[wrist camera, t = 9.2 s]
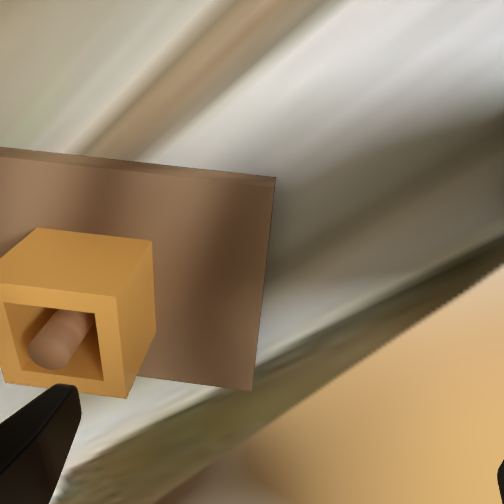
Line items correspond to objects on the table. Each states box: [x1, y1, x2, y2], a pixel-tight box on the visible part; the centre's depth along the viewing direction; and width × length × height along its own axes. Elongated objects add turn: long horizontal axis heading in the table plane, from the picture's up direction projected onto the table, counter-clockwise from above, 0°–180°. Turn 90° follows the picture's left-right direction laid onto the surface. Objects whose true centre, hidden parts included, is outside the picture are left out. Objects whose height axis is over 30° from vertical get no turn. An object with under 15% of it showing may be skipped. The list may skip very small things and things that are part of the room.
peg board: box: [0, 147, 276, 391], centre depth 20 cm, size 16×12×6 cm
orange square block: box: [0, 228, 156, 399], centre depth 19 cm, size 5×5×4 cm
